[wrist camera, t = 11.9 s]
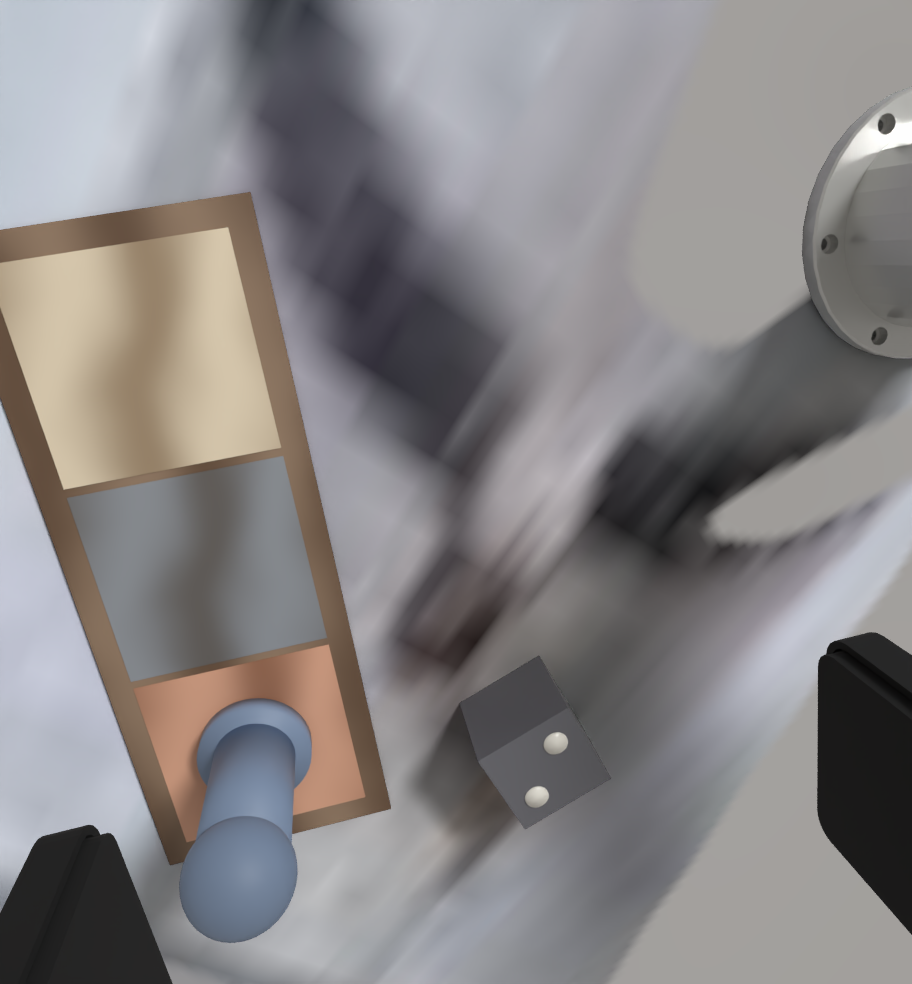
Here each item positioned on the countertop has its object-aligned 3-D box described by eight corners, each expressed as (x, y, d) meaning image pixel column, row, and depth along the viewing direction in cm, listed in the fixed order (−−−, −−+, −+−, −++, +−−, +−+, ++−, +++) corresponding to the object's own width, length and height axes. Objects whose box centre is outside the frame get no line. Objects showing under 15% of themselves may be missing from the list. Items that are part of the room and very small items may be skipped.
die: (538, 654, 40) (568, 708, 35) (578, 719, 42) (611, 779, 37) (459, 702, 40) (478, 762, 35) (501, 765, 42) (525, 830, 37)
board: (250, 192, 31) (249, 191, 30) (390, 806, 41) (391, 808, 41) (-56, 238, 29) (-58, 238, 29) (170, 862, 39) (169, 865, 39)
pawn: (298, 686, 37) (291, 847, 27) (321, 776, 39) (322, 957, 29) (186, 713, 37) (135, 887, 27) (215, 802, 39) (178, 998, 28)
